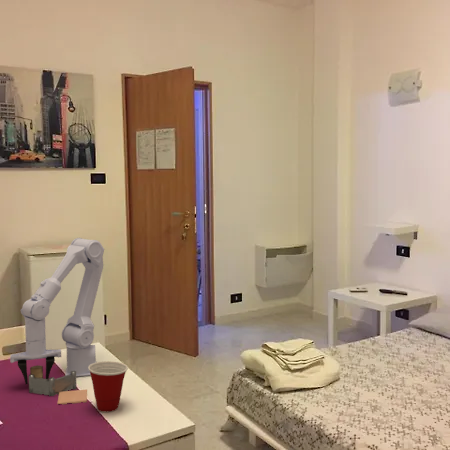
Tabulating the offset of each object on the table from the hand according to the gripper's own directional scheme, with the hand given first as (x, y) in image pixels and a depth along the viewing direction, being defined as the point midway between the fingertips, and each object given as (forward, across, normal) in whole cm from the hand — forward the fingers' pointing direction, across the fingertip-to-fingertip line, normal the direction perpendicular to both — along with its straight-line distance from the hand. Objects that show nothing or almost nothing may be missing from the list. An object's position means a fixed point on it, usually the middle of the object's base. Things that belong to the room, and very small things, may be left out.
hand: (36, 382), depth 161 cm
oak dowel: (+1, 0, 0) cm, 1 cm away
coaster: (+1, -10, +12) cm, 16 cm away
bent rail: (+1, -4, +7) cm, 8 cm away
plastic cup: (+2, -18, +22) cm, 29 cm away
